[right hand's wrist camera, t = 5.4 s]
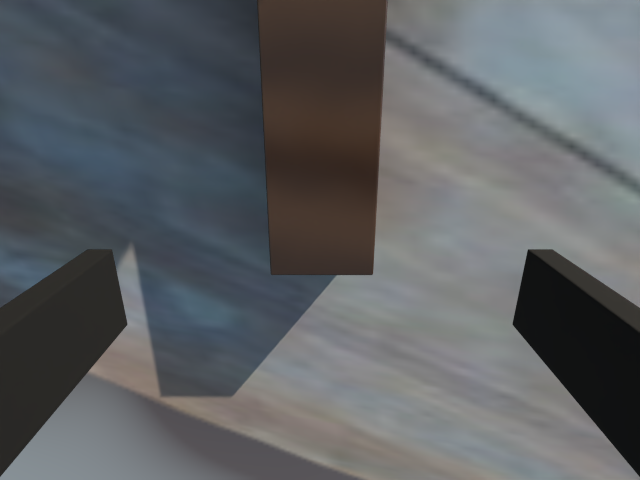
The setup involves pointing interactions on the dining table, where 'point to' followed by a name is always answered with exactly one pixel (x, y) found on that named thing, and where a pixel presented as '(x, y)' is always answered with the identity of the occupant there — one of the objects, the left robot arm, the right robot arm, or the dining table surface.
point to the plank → (322, 131)
